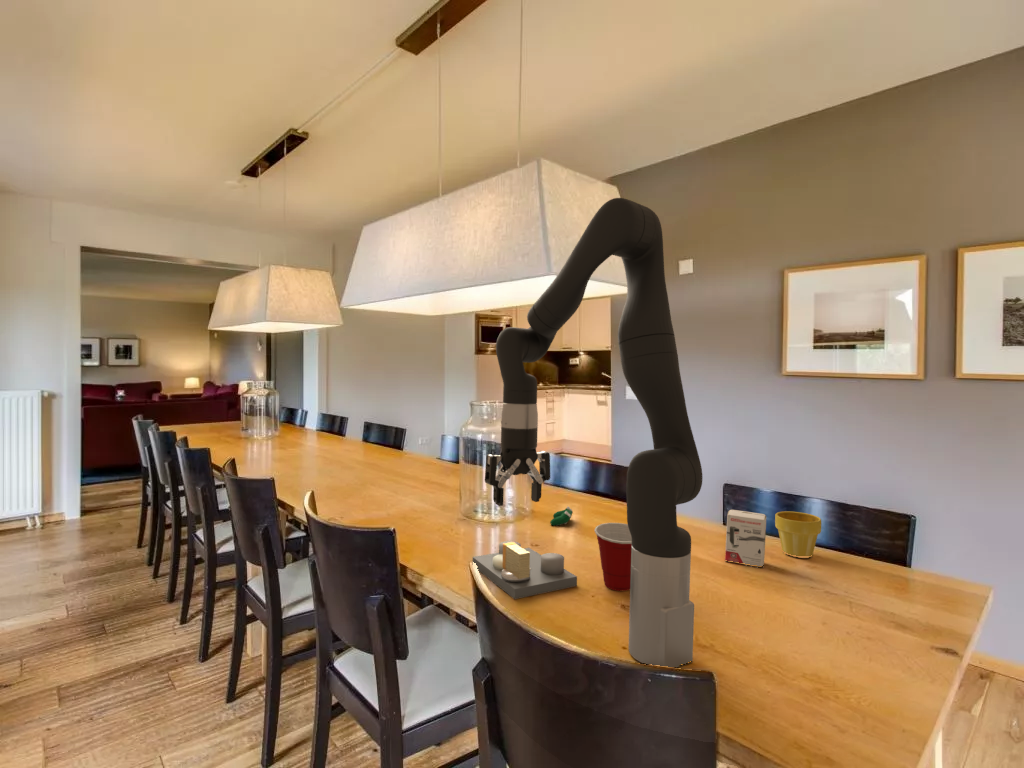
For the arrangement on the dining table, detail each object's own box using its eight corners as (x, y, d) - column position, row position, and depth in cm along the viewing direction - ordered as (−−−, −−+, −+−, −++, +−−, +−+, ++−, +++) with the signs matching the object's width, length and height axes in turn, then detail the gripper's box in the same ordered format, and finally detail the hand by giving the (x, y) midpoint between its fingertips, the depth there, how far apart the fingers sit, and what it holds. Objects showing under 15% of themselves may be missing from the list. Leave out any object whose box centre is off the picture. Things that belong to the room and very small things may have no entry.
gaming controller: (557, 533, 156) (572, 519, 155) (548, 523, 157) (563, 509, 156) (561, 524, 165) (575, 511, 164) (552, 514, 166) (566, 502, 165)
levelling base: (576, 585, 114) (577, 562, 114) (514, 599, 107) (515, 574, 107) (528, 555, 132) (529, 535, 131) (472, 565, 124) (472, 543, 124)
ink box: (724, 562, 130) (725, 513, 130) (726, 556, 134) (728, 509, 134) (763, 569, 126) (765, 519, 126) (764, 562, 130) (766, 514, 130)
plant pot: (764, 549, 140) (766, 511, 140) (797, 546, 143) (798, 509, 143) (795, 563, 130) (797, 523, 130) (830, 560, 133) (831, 520, 133)
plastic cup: (606, 599, 108) (608, 539, 107) (584, 578, 118) (586, 524, 118) (655, 594, 111) (656, 536, 110) (629, 574, 121) (631, 521, 121)
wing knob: (536, 580, 111) (537, 551, 111) (511, 585, 108) (511, 555, 108) (519, 568, 117) (520, 540, 117) (495, 573, 114) (495, 544, 114)
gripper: (496, 428, 105) (495, 511, 105) (558, 425, 112) (556, 503, 112) (480, 424, 111) (478, 502, 112) (539, 422, 118) (537, 495, 119)
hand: (517, 503), depth 112 cm, fingers open, 8 cm apart
